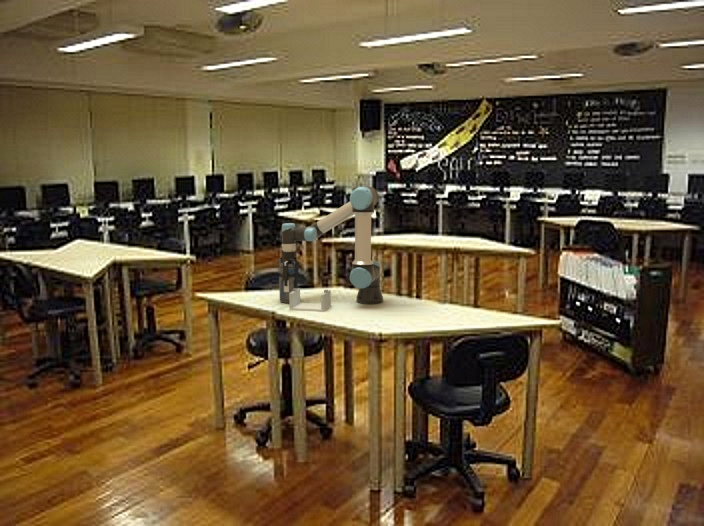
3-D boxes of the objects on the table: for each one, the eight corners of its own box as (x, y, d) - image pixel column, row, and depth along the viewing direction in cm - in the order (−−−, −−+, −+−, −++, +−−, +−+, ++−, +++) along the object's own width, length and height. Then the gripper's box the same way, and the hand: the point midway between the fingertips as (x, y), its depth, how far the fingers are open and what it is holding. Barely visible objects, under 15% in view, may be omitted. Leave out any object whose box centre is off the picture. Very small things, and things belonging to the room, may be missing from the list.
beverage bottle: (293, 304, 344) (292, 260, 340) (275, 302, 351) (273, 258, 347) (304, 301, 353) (303, 257, 349) (286, 298, 360) (285, 256, 356)
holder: (330, 305, 340) (330, 287, 339) (324, 311, 327) (323, 292, 325) (297, 304, 345) (297, 286, 343) (289, 309, 331) (289, 291, 330)
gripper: (289, 248, 359) (289, 286, 363) (275, 253, 338) (276, 293, 341) (301, 248, 358) (302, 286, 361) (288, 253, 336) (289, 294, 339)
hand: (289, 290), depth 351 cm, fingers closed on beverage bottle, 10 cm apart
